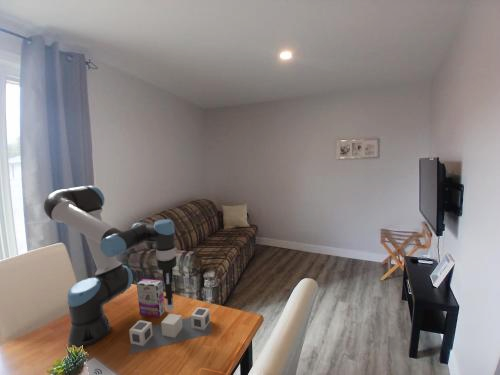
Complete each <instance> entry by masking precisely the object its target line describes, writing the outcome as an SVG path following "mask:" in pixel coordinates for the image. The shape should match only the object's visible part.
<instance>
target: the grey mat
mask: <svg viewBox="0 0 500 375" xmlns="http://www.w3.org/2000/svg"><path fill="white" fill-rule="evenodd" d="M152 332H153V336H152V337H151V338H150V339H149V340H148V341H147V342H146V343H145V344H144V346H141V345H136V344H132V343H130V344H131V345H130V349H129V350H130V351H129V355H131V354H136V353H141V352H145V351H148V350H152V349H156V348H161V347H163V346H168V345H169V346H170V345H172V344H175V343H176V344H177V343H180V342H184V341H187V340H188V341H189V340H191V339H196V338H201V337H205V336H208V335H212V334H213V330H212V327H211V321H210V322H209V324H208V325H207V327H206V328H205V330H200V329H195V328H192V323H191V316H190V317H189V316H188V317H184V318H182V329H181V331H180V332H179V333H178V334H177V336H176V337H175V338H173V337H168V336H164V335H162V325H161V323H158V324H152Z"/></svg>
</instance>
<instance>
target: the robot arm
mask: <svg viewBox="0 0 500 375" xmlns="http://www.w3.org/2000/svg"><path fill="white" fill-rule="evenodd" d="M104 205H105V196H104V193H103V192H102V191H101V189H99V187H96V186H95V185H83V186H78V187H69V188H63V189H57V190H55V191H53V192H51V193H50V194H49V195H47V197H46V198H45V200H44V203H43V210H44V213H45V214H46V216H47V217H48V218H49V219H51V220H52V221H54V222H56V223H63V224H65V225H67V226H68V227H70V228H71V229H73V230H75V231H77V232H78V233H81V234H82V235H84V237H85V239H86V242H87V245H88V249H89V251H90V253H91V256H92V259H93V261H94V263H95V266H96V271H95V274H94V275H95V277H88V278H86V279H82V280H80V281H78V282H76V283H75V284H73V285H72V286H71V287H70V289H69V290H68V292H67V305H68V310H69V315H70V316H69V317H70V322H71V326H70V329H69V334H68V337H67V338H68V345H69V347H70V346H72V345H75V346H76V347H80V346H82V345H83V347H84V348H87V347H90V346H92V345H95V344H97V343H99V342H101V341H102V340H103V339H104V338H106V336H107V335H108V334H109V333H110V331H111V323H110V321H109V319H108V317H107V316H106V314H105V311H104V306H105V305H106V304H107V303H109V302H110V301H112V300H113V299H115V298H117V297H119V296H121V295H122V294H124V293H125V292H126V291H127V290H129V289H130V288H131V286H132V284H133V281H134V277H133V272H132V270H131V269H130V268H129V266H127V265H123V263H122V262H121V261H118V259H117V256H119V255H121V254H124V253H126V252H127V251H129V250H131V249H134V248H135V247H139V246H140V245H143V244H145V243H152V244H155V254H156V259H157V260H156V262H157V264H156V265H157V269H158V270H161V271H162V278H163V284H164V290H165V295H164V299H165V302H166V304H165V305H166V312H171V311H174V308H175V306H174V295H173V294H175V291H174V290H173V273H174V270H173V269H174V268H175V267H176V266H177V256H176V255H177V251H178V248H177V247H176V235H175V234H176V229H175V224H174V221H173V220H172V219H168V218H167V219H159V220H157V221H155V222H154V223H148V222H143V221H142V222H136V223H135V222H134V223H133V224H132V226H131V227H130V228H128V229H124V230H120V229H118V228H116V227H115V226H113V225H111V224H109V223H107V222H105V221H104V220H103V218H102V215H101V213H102V212H103V208H102V207H104Z"/></svg>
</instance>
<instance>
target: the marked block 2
mask: <svg viewBox="0 0 500 375" xmlns="http://www.w3.org/2000/svg"><path fill="white" fill-rule="evenodd" d="M190 317H191V323H192V328H195V329H200V330H205V328H206V327H207V325H208V324H209V322H210V323H211V312H210V308H206V307H201V306H200V307H198V306H197V307H196V308H195V309H194V311H193V312H192V313H191V314H190Z"/></svg>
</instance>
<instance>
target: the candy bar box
mask: <svg viewBox="0 0 500 375" xmlns="http://www.w3.org/2000/svg"><path fill="white" fill-rule="evenodd" d="M136 288H137V300H138V307H139V308H138V309H139V315H141V316H149V317H157V318H161V317H162V316H163V314H164V313H165V312H166V304H165V298H164V296H165V295H164V280H157V279H147V278H142V279H141V280H139V282H137V283H136Z"/></svg>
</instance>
